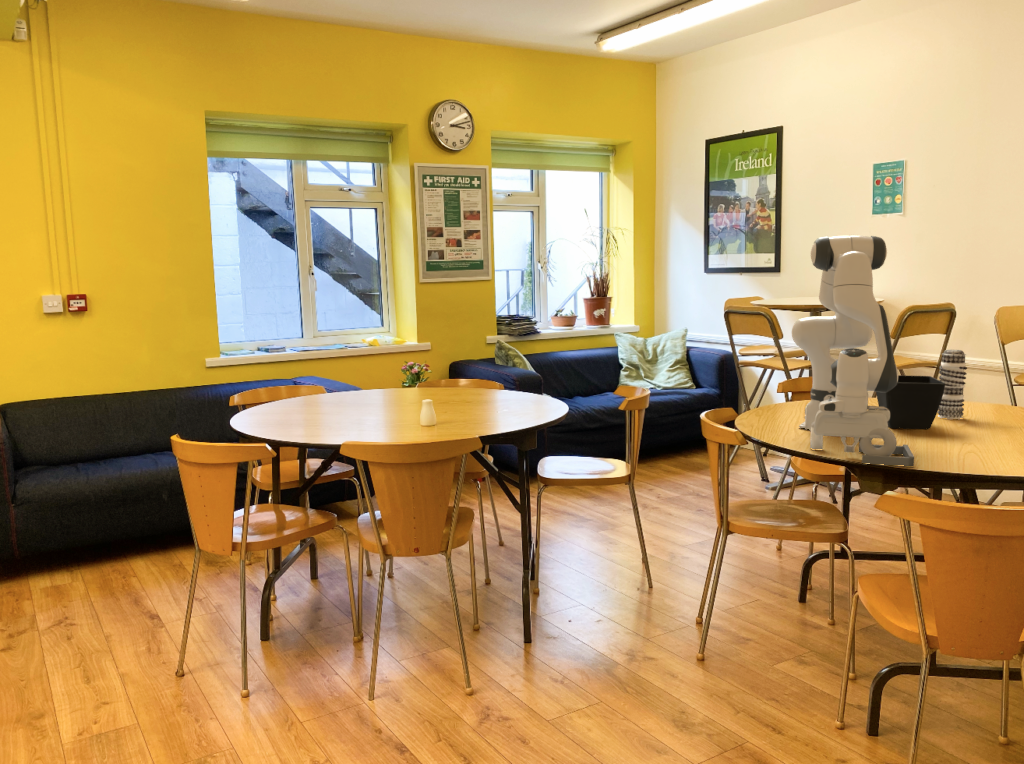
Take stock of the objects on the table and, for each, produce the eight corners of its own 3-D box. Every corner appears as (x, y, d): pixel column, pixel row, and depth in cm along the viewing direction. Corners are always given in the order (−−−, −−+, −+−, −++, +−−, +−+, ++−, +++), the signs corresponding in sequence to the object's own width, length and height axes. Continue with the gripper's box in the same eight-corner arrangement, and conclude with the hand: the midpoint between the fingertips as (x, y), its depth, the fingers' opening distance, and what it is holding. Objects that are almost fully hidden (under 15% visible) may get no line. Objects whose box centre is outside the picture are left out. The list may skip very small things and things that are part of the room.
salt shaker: (810, 447, 258) (811, 419, 256) (822, 448, 256) (823, 420, 255) (810, 450, 254) (811, 421, 253) (822, 450, 253) (823, 422, 252)
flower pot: (943, 431, 281) (946, 382, 279) (883, 430, 285) (886, 381, 283) (927, 422, 299) (930, 375, 297) (871, 420, 303) (873, 375, 301)
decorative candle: (957, 415, 312) (961, 349, 309) (968, 419, 303) (972, 351, 300) (932, 415, 313) (935, 349, 310) (942, 419, 304) (946, 351, 301)
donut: (896, 459, 240) (898, 425, 239) (895, 462, 237) (897, 427, 236) (858, 456, 245) (860, 422, 243) (857, 458, 242) (859, 424, 240)
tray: (858, 452, 251) (859, 442, 250) (906, 454, 246) (907, 444, 246) (862, 464, 235) (862, 453, 235) (913, 467, 231) (914, 456, 230)
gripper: (889, 404, 241) (887, 451, 243) (814, 402, 248) (812, 447, 250) (891, 408, 235) (889, 456, 237) (814, 405, 242) (812, 451, 244)
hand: (849, 451), depth 244 cm, fingers closed
